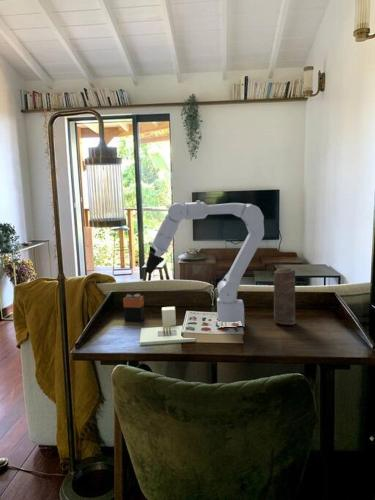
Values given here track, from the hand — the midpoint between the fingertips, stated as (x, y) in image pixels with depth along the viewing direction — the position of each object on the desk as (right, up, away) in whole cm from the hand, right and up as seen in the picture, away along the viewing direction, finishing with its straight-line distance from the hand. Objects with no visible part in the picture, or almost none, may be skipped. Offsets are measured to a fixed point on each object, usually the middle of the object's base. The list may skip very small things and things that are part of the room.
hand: (148, 269), depth 136 cm
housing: (+7, -20, +6) cm, 22 cm away
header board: (+7, -22, -5) cm, 24 cm away
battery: (-6, -20, +12) cm, 24 cm away
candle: (+48, -20, +2) cm, 52 cm away
